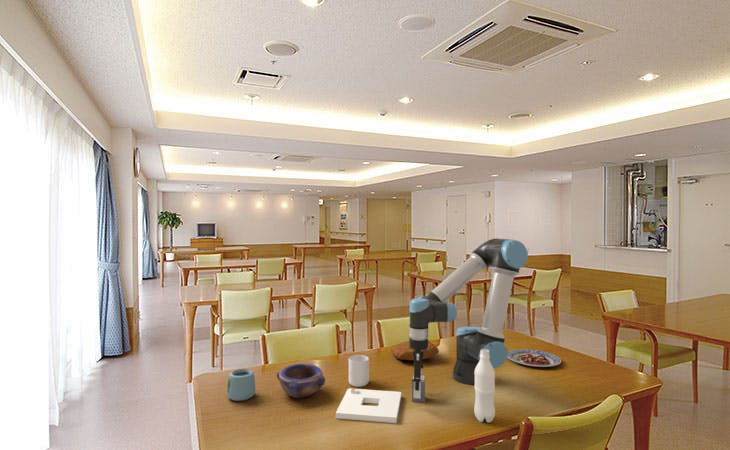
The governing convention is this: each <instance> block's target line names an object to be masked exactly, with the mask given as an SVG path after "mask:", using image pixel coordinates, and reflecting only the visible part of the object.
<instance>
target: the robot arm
mask: <svg viewBox="0 0 730 450" xmlns="http://www.w3.org/2000/svg"><path fill="white" fill-rule="evenodd" d="M528 258H529V252H528V249H527V247H526V245H524V243H522V242H521V241H519V240H516V239H511V238H492V239H488V240H487V241H485V242H483V243H482V244H480V245H479V246H477V248H475V249H474V250H473V251H472V252H471V253H470V255H469V258H467V259H466V260H465V261H464V262H463V263H461V265H459V266H458V267H457V268H456V269H454V271H453V272H452V273H450V274H449V275H448V276H447V277H446V278H445V279H444V280H443V281H442V282H440V283H439V284H438V285H437V286H436V287H435V288H433V289H432V291H431V290H430V292H429V293H428V294H427V295H422V296H419V297H417V298H412V299H411V300H410V301H409V309H408V310H409V328H408V329H407V331H408V332H409V336H408V337H409V338H408V341H409V347H410V348H411V349H414V350H415V351H414V353H413V358H414V360H413V365H414V367H413V375H414V379H412V378H411V383H412V382H414V392H413V398H418V399H420V398H421V380H420V379H421V375H422V376H423V371H422V370H423V369H424V365H423V360H424V359H423V352H422V350H425V349H427V348H428V341H429V339H428V338H429V323H430V324H431V323H449V322H454V321H455V320H456V319H457V315H458V310H457V307H456V305H455V304H454V303H453V302H448V300H449V299H451V298H452V297H453V296H454V295H455V294H456V293H457V292H458V291H460V290H461V289H462V288H463V287H465V285H466V284H468V283H469V282H470V281H471V280H472V279H473V278H474V277H476V276H477V274H478V275H479V273H480V272H481V271H482V270H487V269H488V268H490V269H491V270H492V277H491V281H490V284H489V285H490V286H489V291H488V295H487V300H486V305H485V309H484V314H483V318H482V323H481V327H480V326H462V327H461V326H460V327H458V328H457V329H456V334H455V336H456V337H455V338H456V345H455V346H456V350H455V351H456V360H455V363H454V366H453V369H452V379H453V380H455V381H456V382H459V383H461V384H466V385H475V374H474V372H475V368H476V366H477V364H478V363H479V361H480V354H481V353H480V350H481V349H487V350H489V355H490V358H489V360H490V363H491V365H492V367H493V369H497V368H499V367H500V366H502V365H504V364H505V362H506V361H507V359H508V357H507V356H508V352H509V351H508V348H507V345H505V340H506V337H505V334H504V333H503V330H504V327H505V321H506V317H507V311H508V307H509V302H510V297H511V293H512V288H513V283H514V278H515V277H516V276H518V275H519V274H520V269H521V268H523V267H525V266H526V265H527V262H528ZM417 378H419V379H417Z"/></svg>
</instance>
